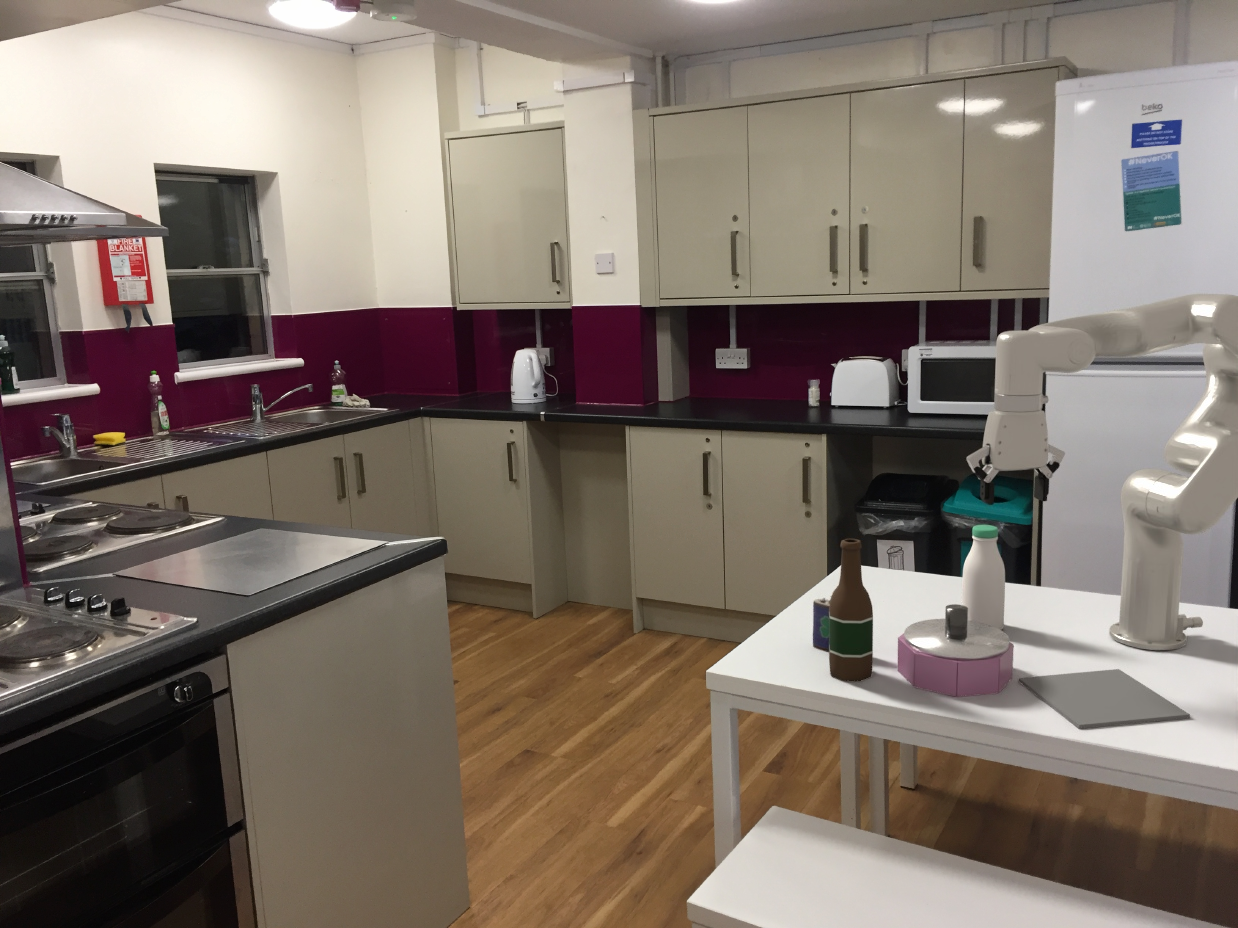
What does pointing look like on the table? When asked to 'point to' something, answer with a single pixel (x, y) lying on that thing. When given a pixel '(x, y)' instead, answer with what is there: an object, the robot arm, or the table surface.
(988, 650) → the lid
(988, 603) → the milk bottle
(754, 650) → the table surface
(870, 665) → the beer bottle
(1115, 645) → the table surface
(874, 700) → the table surface
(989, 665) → the pink octagonal dish
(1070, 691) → the mat
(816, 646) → the flask
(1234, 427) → the robot arm
